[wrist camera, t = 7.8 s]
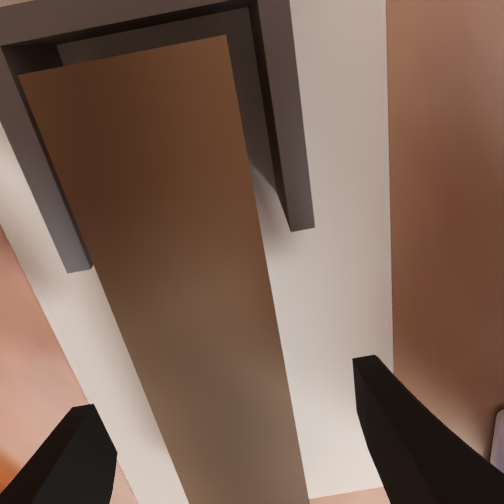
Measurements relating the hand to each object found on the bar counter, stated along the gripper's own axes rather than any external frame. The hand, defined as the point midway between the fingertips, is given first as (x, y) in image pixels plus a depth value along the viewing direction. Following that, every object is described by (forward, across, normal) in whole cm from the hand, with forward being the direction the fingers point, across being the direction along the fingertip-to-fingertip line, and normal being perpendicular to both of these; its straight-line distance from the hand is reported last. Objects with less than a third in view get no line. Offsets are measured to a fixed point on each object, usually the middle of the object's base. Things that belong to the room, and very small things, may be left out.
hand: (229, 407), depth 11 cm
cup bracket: (+5, 0, 0) cm, 5 cm away
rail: (+4, 0, 0) cm, 4 cm away
